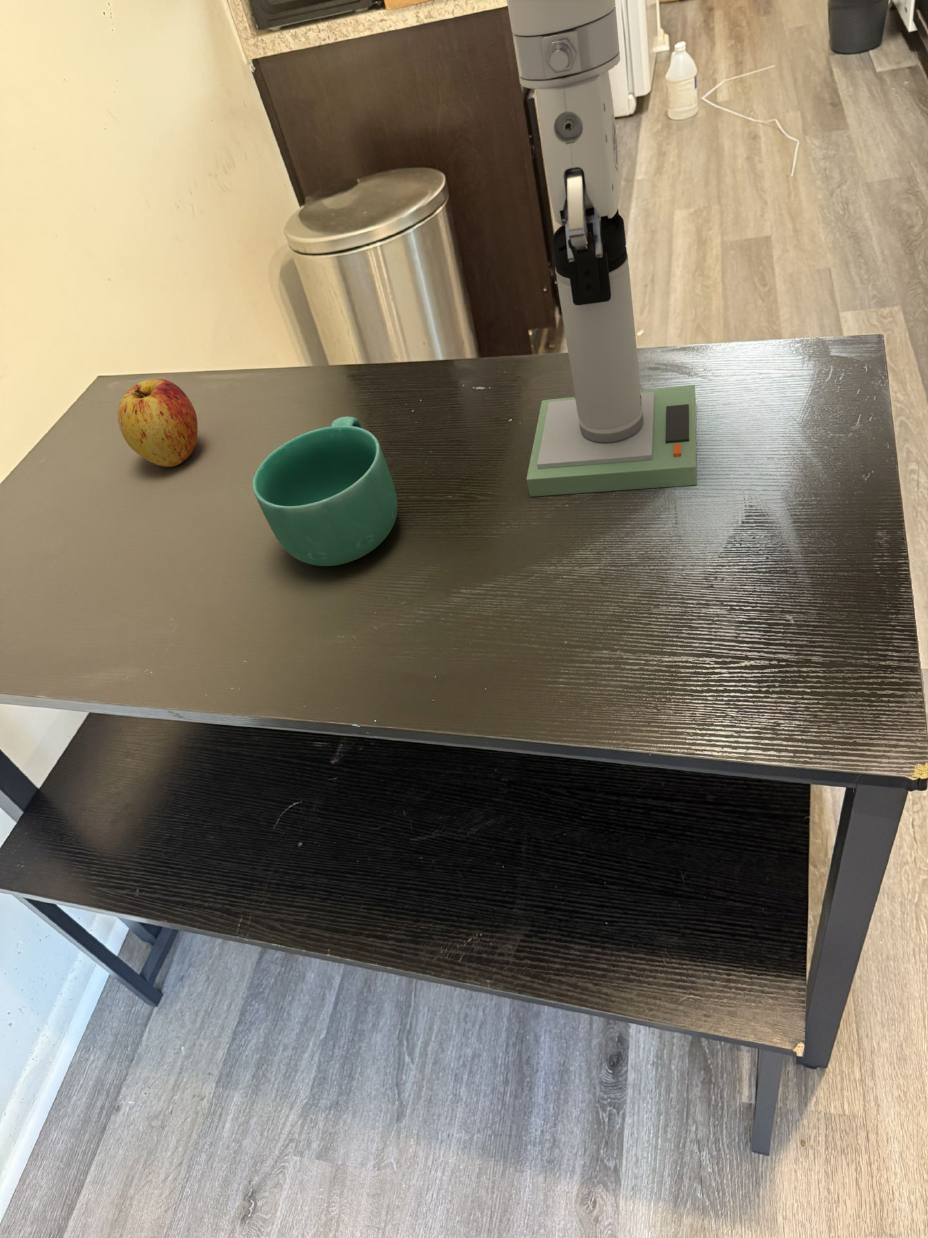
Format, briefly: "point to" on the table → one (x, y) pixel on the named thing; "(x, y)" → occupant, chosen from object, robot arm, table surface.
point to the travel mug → (602, 342)
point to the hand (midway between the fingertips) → (595, 280)
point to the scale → (616, 448)
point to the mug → (328, 494)
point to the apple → (158, 422)
